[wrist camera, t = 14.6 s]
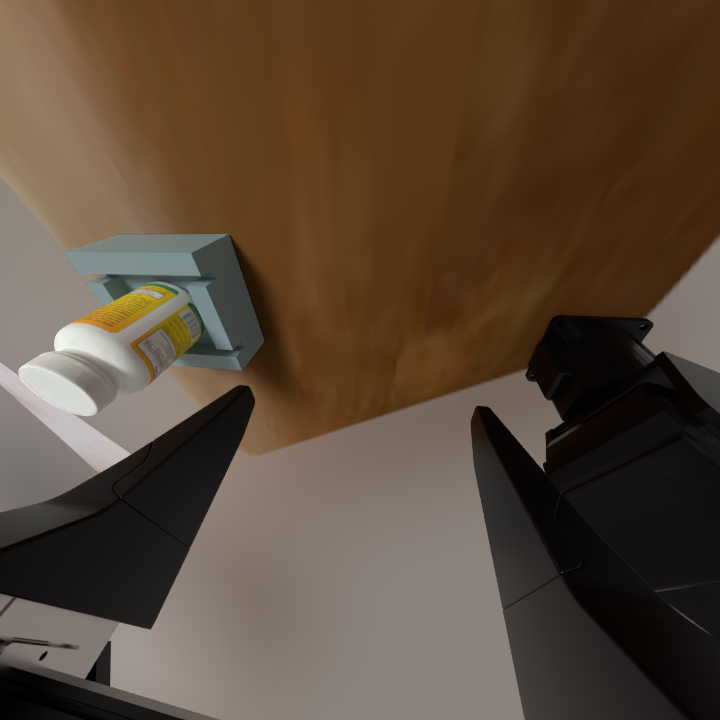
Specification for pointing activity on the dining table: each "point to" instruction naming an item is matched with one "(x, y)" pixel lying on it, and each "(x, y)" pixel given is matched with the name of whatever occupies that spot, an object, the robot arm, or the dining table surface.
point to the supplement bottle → (116, 349)
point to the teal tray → (190, 272)
